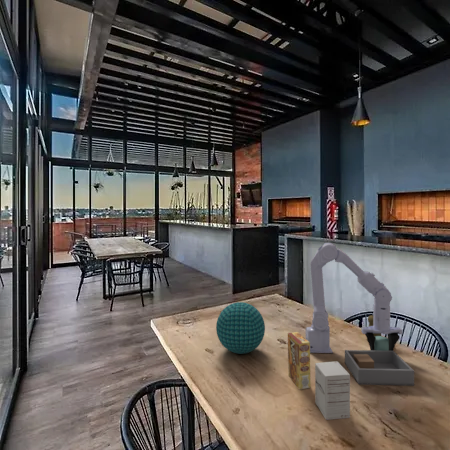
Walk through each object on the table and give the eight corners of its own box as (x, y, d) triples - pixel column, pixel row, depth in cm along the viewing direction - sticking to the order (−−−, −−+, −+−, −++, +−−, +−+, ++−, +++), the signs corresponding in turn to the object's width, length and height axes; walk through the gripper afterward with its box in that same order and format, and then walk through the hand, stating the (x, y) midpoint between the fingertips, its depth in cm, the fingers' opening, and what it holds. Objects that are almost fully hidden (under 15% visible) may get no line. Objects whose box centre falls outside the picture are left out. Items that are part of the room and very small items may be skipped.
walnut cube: (374, 375, 101) (374, 361, 100) (359, 375, 101) (359, 361, 101) (367, 367, 106) (367, 354, 105) (353, 367, 106) (353, 354, 106)
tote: (358, 384, 97) (358, 369, 97) (344, 362, 110) (344, 350, 110) (414, 385, 96) (414, 370, 95) (393, 363, 109) (393, 350, 109)
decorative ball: (206, 352, 121) (205, 304, 120) (238, 336, 136) (237, 293, 135) (244, 369, 108) (243, 315, 107) (274, 349, 122) (274, 302, 121)
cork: (384, 344, 125) (384, 319, 124) (368, 343, 126) (368, 318, 125) (379, 338, 131) (379, 314, 130) (365, 337, 132) (365, 313, 131)
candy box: (311, 388, 95) (311, 342, 95) (299, 390, 94) (298, 343, 94) (298, 373, 104) (298, 331, 103) (287, 375, 103) (287, 332, 102)
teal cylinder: (377, 359, 113) (377, 341, 112) (372, 353, 118) (372, 335, 117) (391, 359, 112) (391, 341, 112) (385, 353, 117) (385, 336, 117)
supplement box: (314, 403, 88) (314, 362, 87) (338, 401, 89) (338, 360, 88) (325, 420, 81) (324, 376, 80) (350, 418, 81) (350, 374, 81)
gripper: (366, 320, 111) (366, 356, 111) (406, 321, 110) (406, 356, 110) (359, 314, 118) (359, 347, 118) (397, 314, 117) (396, 347, 117)
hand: (381, 351), depth 115 cm, fingers open, 6 cm apart
